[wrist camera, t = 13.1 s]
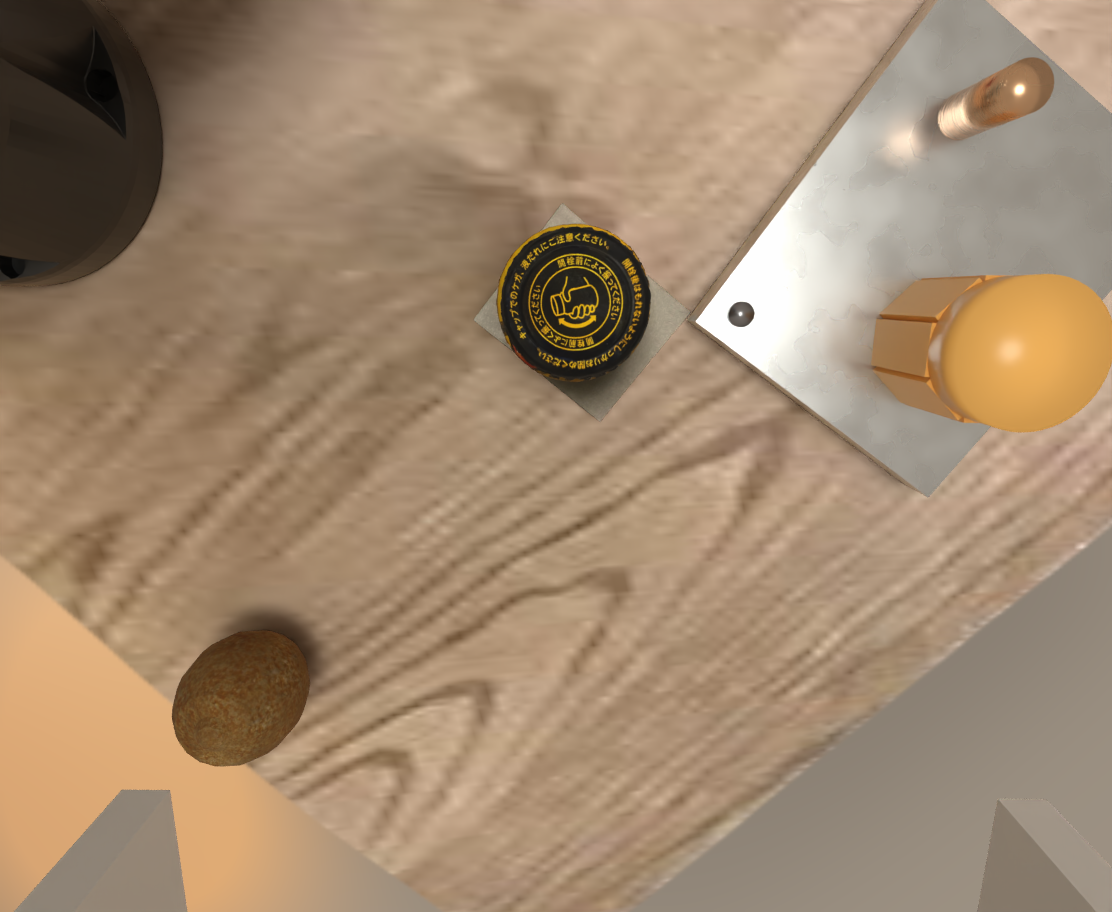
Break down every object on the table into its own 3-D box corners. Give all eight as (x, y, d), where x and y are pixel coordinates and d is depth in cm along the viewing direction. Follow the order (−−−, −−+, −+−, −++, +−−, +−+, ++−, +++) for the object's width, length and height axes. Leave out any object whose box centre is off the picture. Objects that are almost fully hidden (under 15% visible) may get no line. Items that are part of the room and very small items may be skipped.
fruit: (308, 594, 39) (244, 668, 31) (344, 689, 40) (291, 784, 32) (205, 620, 39) (118, 700, 31) (244, 714, 40) (169, 813, 33)
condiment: (562, 203, 34) (562, 154, 22) (690, 312, 35) (754, 320, 23) (473, 319, 35) (430, 331, 24) (599, 421, 36) (618, 479, 25)
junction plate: (686, 319, 35) (717, 325, 28) (926, -1, 32) (1026, -82, 25) (904, 484, 37) (981, 526, 30) (1152, 198, 34) (1302, 173, 27)
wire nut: (881, 277, 32) (967, 272, 25) (1008, 279, 32) (1129, 275, 25) (866, 404, 34) (944, 431, 27) (988, 405, 33) (1098, 433, 27)
